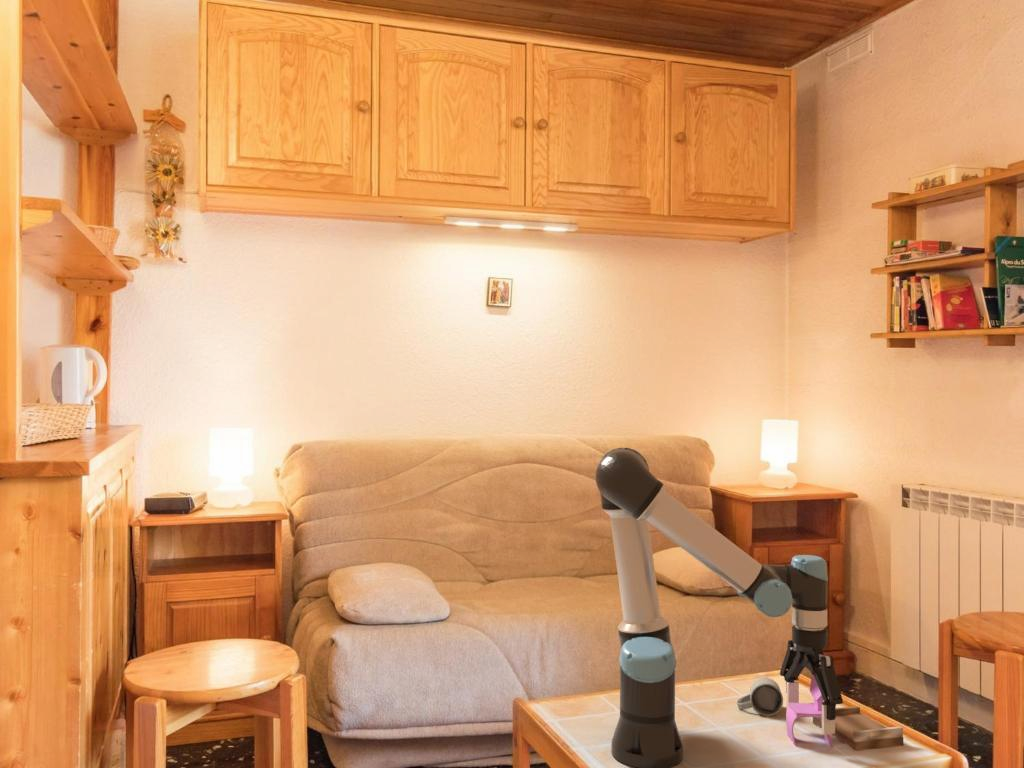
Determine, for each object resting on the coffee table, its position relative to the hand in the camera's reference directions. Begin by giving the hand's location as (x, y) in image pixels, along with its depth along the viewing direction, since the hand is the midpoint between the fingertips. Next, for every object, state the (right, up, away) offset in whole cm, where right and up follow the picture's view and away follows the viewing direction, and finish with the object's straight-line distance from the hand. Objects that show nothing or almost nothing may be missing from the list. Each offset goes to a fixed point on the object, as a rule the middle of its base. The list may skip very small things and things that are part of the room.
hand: (809, 721), depth 195 cm
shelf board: (+12, -4, +4) cm, 14 cm away
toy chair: (0, -5, 0) cm, 5 cm away
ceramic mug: (-6, -5, +19) cm, 20 cm away
